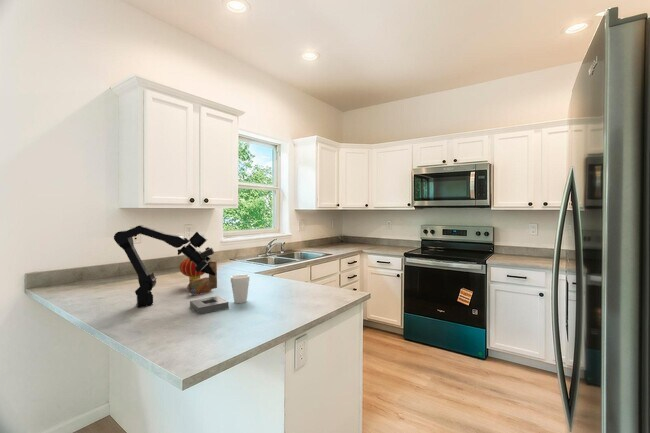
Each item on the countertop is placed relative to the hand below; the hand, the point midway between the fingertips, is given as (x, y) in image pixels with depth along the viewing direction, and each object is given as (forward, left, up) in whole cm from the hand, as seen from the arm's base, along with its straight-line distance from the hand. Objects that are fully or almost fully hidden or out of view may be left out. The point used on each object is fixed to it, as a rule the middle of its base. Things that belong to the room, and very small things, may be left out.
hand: (215, 274), depth 165 cm
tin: (-2, +19, -14) cm, 23 cm away
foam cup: (+9, -11, -14) cm, 20 cm away
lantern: (0, +38, -14) cm, 40 cm away
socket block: (-7, -11, -13) cm, 19 cm away
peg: (-1, +1, -7) cm, 7 cm away
